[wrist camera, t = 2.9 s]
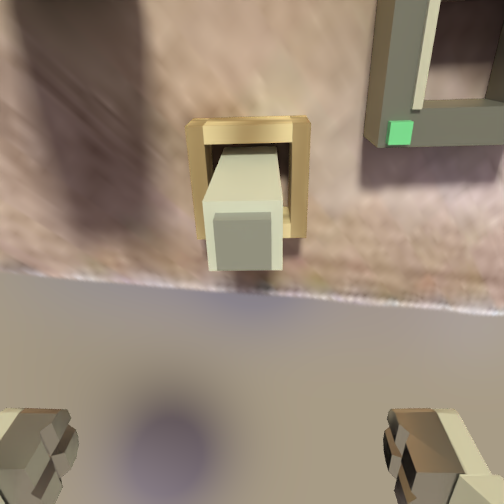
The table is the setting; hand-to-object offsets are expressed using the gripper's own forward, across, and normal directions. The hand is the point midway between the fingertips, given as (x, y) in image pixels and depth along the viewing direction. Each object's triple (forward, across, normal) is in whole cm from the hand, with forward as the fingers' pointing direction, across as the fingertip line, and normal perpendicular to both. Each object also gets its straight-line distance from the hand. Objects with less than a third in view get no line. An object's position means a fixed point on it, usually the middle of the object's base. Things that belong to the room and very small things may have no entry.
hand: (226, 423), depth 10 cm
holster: (+23, 0, 0) cm, 23 cm away
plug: (+23, 0, 0) cm, 23 cm away
